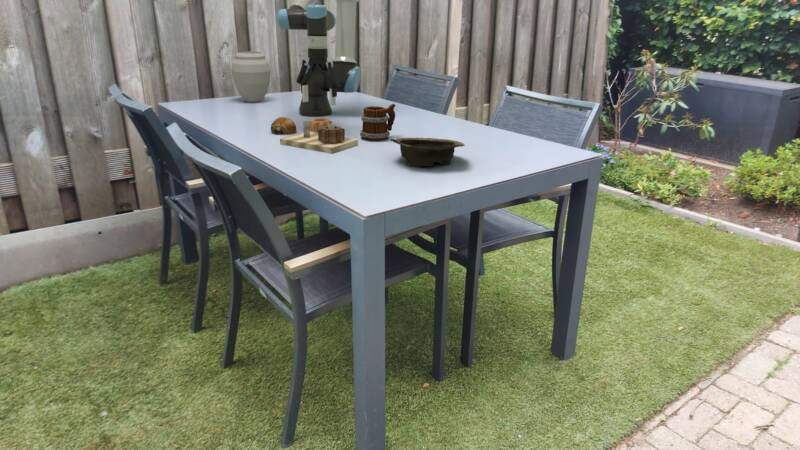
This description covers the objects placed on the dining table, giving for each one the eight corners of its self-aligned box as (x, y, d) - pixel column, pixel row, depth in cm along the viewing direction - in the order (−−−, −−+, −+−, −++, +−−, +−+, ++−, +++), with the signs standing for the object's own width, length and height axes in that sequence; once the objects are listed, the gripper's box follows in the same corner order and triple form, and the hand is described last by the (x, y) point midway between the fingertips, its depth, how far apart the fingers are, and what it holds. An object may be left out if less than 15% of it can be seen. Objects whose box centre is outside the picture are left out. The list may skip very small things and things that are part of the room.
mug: (352, 136, 223) (357, 98, 218) (382, 138, 231) (388, 101, 227) (366, 142, 214) (373, 102, 209) (397, 144, 222) (404, 106, 218)
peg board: (280, 143, 209) (278, 122, 206) (307, 136, 222) (306, 115, 219) (332, 153, 198) (331, 131, 195) (357, 144, 211) (357, 123, 208)
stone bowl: (410, 174, 177) (410, 144, 174) (381, 160, 199) (380, 133, 196) (478, 166, 186) (478, 138, 183) (443, 153, 208) (443, 128, 205)
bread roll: (298, 142, 228) (304, 123, 228) (278, 134, 220) (284, 115, 220) (283, 137, 234) (289, 119, 234) (263, 130, 226) (269, 111, 226)
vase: (227, 103, 284) (222, 53, 275) (243, 97, 302) (239, 50, 293) (264, 105, 281) (260, 54, 272) (278, 99, 299) (275, 51, 290)
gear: (303, 132, 227) (302, 120, 225) (318, 128, 235) (317, 116, 233) (322, 136, 223) (321, 123, 221) (336, 131, 230) (336, 119, 229)
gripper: (286, 46, 219) (288, 101, 227) (338, 50, 208) (338, 108, 215) (298, 45, 225) (300, 99, 233) (349, 49, 214) (350, 105, 221)
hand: (319, 103), depth 224 cm, fingers open, 13 cm apart
